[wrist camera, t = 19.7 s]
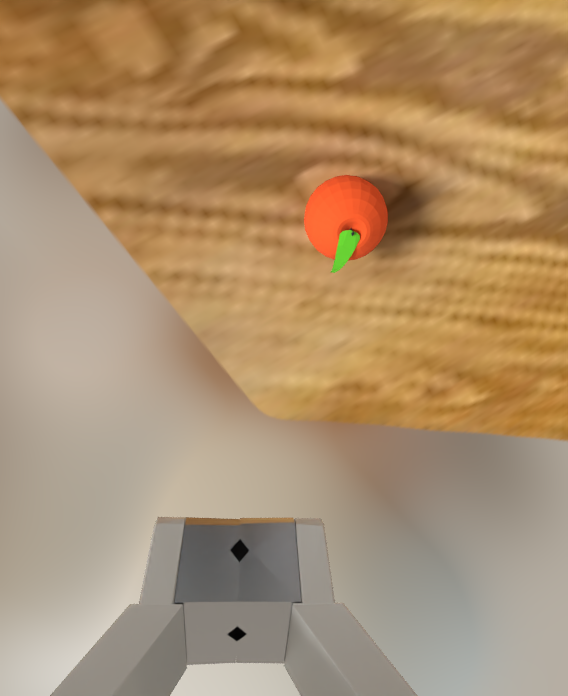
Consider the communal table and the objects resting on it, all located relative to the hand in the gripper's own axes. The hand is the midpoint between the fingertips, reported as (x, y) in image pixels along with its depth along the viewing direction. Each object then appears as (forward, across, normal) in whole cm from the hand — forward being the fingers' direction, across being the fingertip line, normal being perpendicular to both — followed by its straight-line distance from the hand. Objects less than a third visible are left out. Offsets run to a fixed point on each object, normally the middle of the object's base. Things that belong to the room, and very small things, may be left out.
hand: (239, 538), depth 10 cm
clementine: (+39, +8, -6) cm, 41 cm away
